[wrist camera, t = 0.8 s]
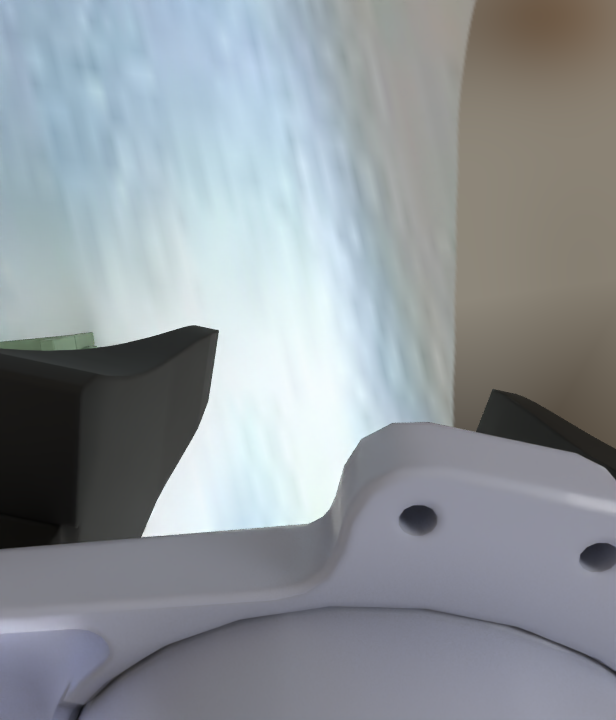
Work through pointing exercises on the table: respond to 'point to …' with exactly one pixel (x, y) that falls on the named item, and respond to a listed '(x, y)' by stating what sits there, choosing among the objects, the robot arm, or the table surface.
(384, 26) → the table surface
